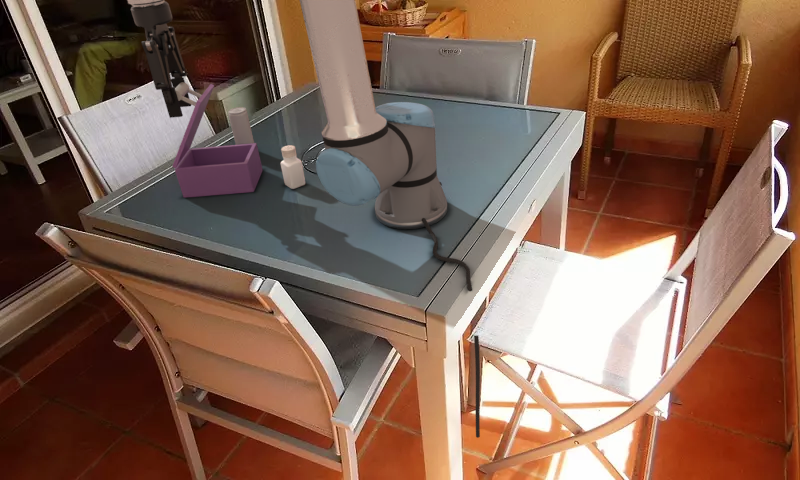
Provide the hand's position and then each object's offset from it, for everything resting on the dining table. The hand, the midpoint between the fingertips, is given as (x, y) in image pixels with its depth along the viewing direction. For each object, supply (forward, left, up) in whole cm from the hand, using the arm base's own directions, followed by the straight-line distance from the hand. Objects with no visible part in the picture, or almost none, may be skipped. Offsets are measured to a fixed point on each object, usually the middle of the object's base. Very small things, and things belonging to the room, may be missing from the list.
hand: (180, 111), depth 131 cm
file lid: (0, -2, -4) cm, 4 cm away
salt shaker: (-4, -23, -19) cm, 31 cm away
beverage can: (+18, -7, -19) cm, 27 cm away
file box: (0, -5, -19) cm, 20 cm away
